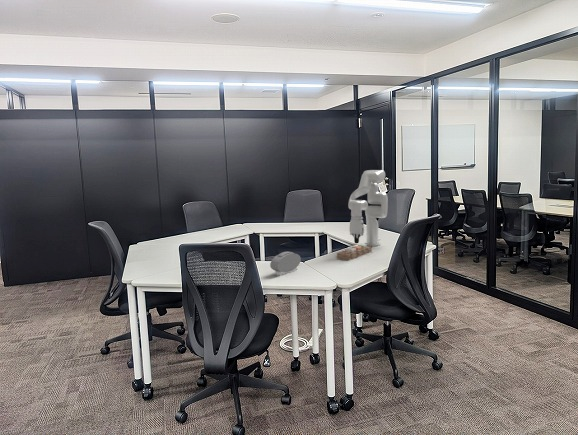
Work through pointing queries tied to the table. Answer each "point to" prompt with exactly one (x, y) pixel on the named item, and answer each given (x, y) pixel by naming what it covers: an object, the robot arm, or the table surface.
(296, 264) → the alarm clock
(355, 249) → the cream key
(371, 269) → the table surface
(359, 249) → the terracotta key
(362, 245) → the sage key
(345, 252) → the console
